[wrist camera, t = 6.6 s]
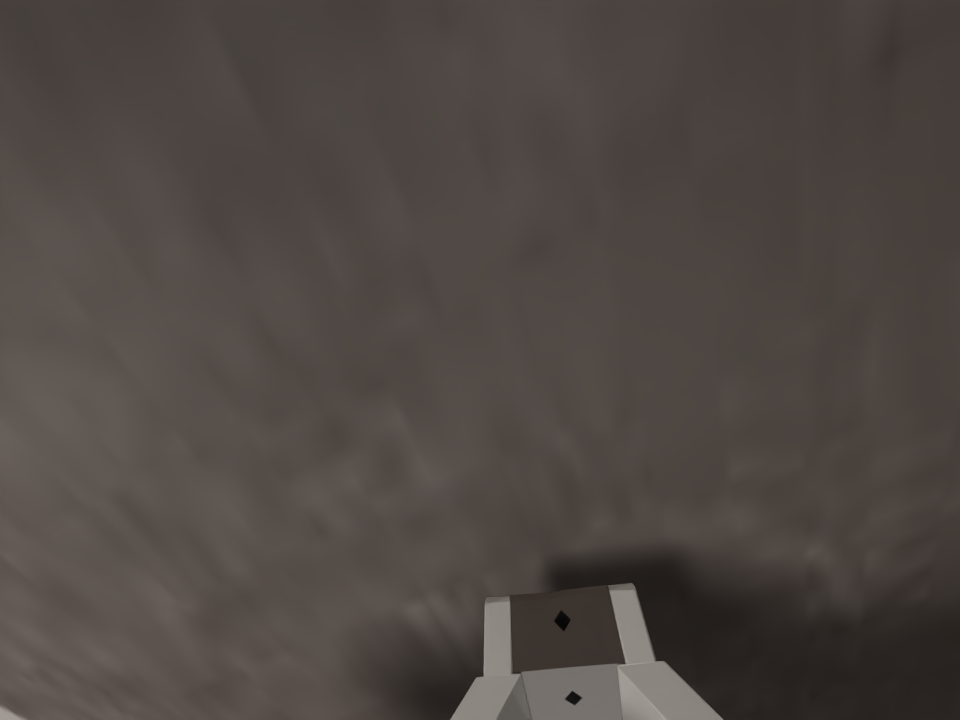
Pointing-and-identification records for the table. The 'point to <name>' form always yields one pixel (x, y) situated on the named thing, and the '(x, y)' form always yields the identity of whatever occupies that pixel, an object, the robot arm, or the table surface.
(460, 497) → the table surface
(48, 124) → the table surface
